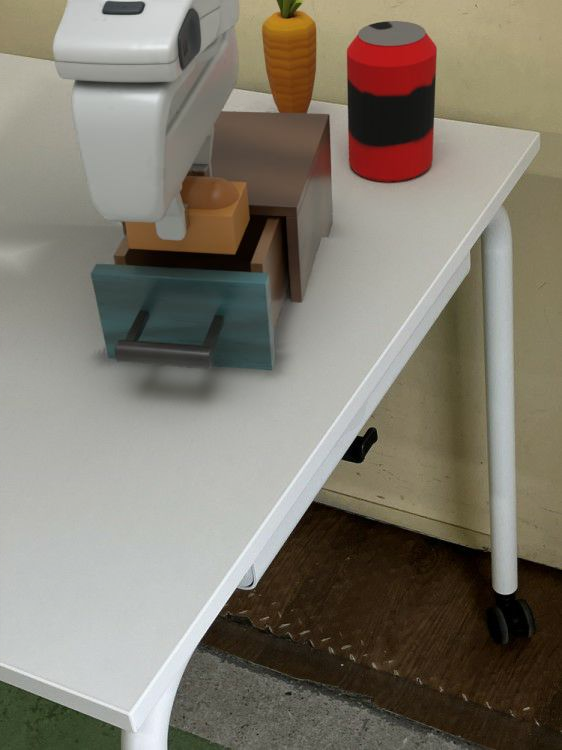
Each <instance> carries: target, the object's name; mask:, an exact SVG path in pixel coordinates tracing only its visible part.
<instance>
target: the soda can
mask: <svg viewBox="0 0 562 750" xmlns="http://www.w3.org/2000/svg"><path fill="white" fill-rule="evenodd" d="M437 49H438V48H437V45H436V44H435V42H434V41H433V39H432V38H431V37H430V36H429V34H428V33H427V30H426V29H425V28H424V27H423V26H422V25H419V24H418V23H417V24H416V23H414V22H409V21H401V20H387V21H380V22H379V21H378V22H374V23H370V24H367V25H365V26H364V27H362V28H361V29H359V30H358V32H357V34H356V36H355V37H354V39H353V40H352V41H351V42H350V44H349V45H348V47H347V48H346V80H347V83H346V84H347V133H348V134H347V137H348V138H347V139H348V140H347V141H348V164H349V166H350V167H351V169H353V171H354V172H355V173H356V174H357V175H359V176H361V177H362V178H365V179H368V180H371V181H376V182H383V183H384V182H386V183H389V182H390V183H391V182H392V181H395V182H401V181H400V180H403V181H407V180H406V179H408V180H411V179H414V178H416V176H417V177H418V175H419V176H421V175H422V174H424V173H425V172H426V171H427V170H428V169H429V168H430V166H431V165H432V163H433V159H434V158H433V156H434V155H433V154H434V131H435V107H436V106H435V105H436V104H435V101H436V77H437V57H438V56H437V54H438V53H437V52H438V50H437ZM424 171H425V172H424ZM420 174H421V175H420ZM410 178H411V179H410Z"/></svg>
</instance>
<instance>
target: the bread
mask: <svg viewBox="0 0 562 750" xmlns="http://www.w3.org/2000/svg"><path fill="white" fill-rule="evenodd" d="M180 195H181V198H182V202H183V204H188V207H189V218H190V226H189V228H188V230H187V232H186V234H185V237H184V238H183V239H182V240H163V239H161V238H160V237H159V236H158V235H157V232H156V225H155V222H151V223H149V222H125V225H126V230H127V236H128V242H129V248H130V249H144V250H162V251H180V252H197V253H215V254H233V255H234V254H236V251H237V249H238V246H239V244H240V242H241V239H242V237H243V234H244V232H245V229H246V227H247V225H248V222H249V220H250V216H249V204H248V192H247V183H246V182H230V181H227V180H225V179H223V178H218V177H199V176H186V177H185V179H184V181H183V182H182V189H181V191H180Z"/></svg>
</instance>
